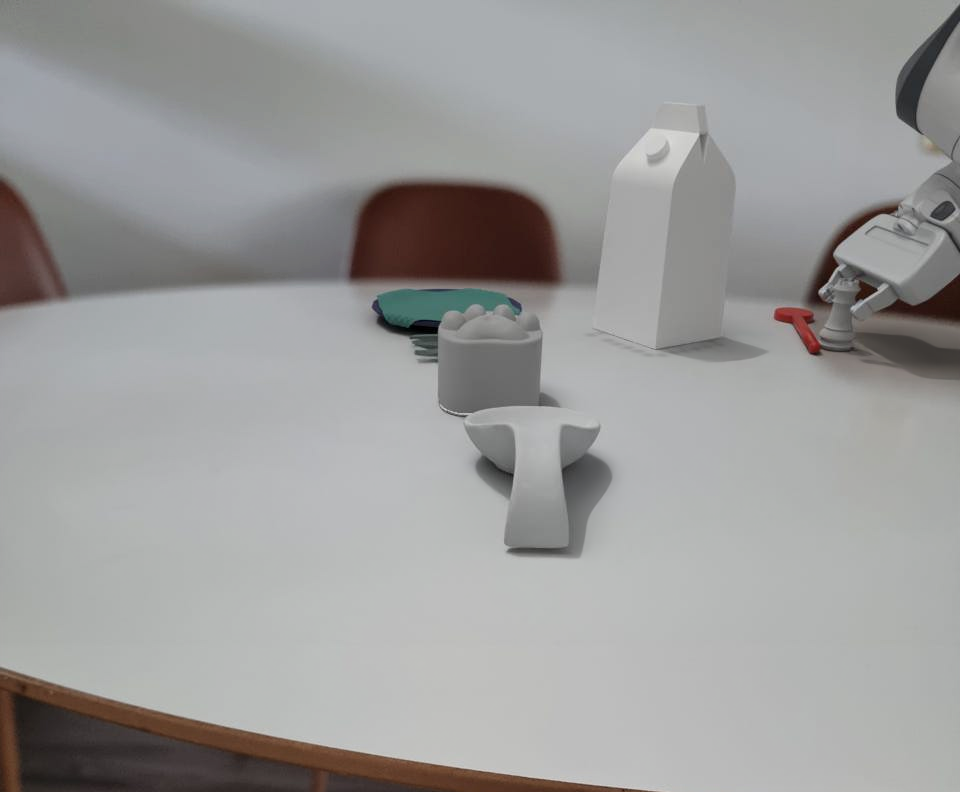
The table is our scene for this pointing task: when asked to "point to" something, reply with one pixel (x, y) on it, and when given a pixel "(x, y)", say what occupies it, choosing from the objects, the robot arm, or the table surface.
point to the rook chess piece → (840, 317)
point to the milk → (667, 235)
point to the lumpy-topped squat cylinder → (488, 359)
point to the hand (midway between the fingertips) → (838, 307)
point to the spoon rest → (534, 465)
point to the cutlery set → (434, 309)
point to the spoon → (800, 324)
